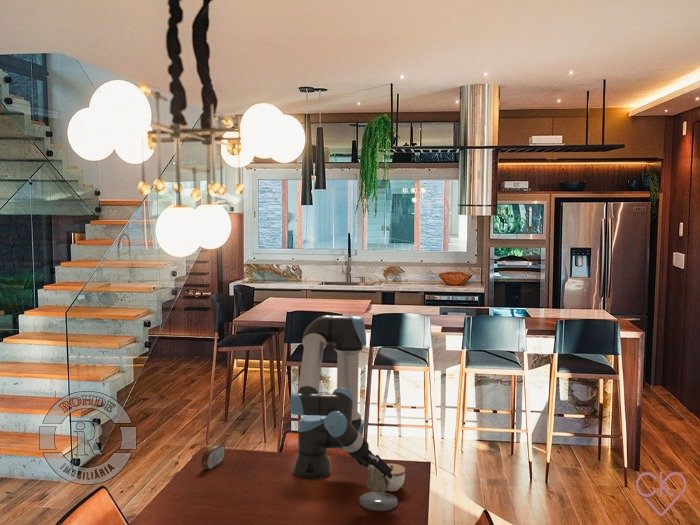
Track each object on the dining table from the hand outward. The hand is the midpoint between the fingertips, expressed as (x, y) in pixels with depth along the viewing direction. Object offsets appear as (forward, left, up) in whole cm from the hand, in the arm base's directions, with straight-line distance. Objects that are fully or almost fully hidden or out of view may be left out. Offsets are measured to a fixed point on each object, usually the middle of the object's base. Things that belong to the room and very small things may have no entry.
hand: (385, 477), depth 241 cm
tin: (-70, -30, -9) cm, 77 cm away
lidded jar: (-7, +10, -9) cm, 15 cm away
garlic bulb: (0, -4, -4) cm, 5 cm away
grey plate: (0, -3, -9) cm, 9 cm away
